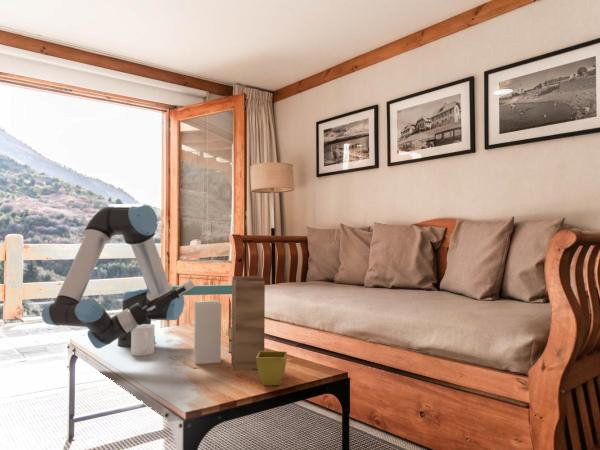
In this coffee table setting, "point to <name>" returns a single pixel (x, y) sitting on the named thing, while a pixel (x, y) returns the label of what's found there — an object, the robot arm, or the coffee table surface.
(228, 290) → the block
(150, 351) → the mug
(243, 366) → the stand
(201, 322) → the tall white pillar
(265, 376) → the flower pot
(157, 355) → the coffee table surface
